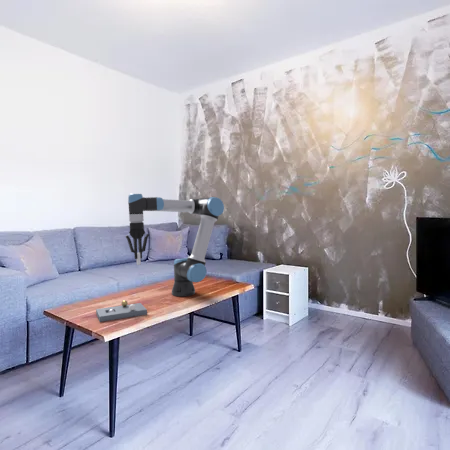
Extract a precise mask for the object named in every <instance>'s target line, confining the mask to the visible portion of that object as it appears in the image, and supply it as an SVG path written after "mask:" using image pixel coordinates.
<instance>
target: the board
mask: <svg viewBox="0 0 450 450" xmlns="http://www.w3.org/2000/svg"><path fill="white" fill-rule="evenodd" d="M131 304H132V303H131ZM131 304H127V306H122V305H118V306H117V305H116V306H109V307H102V308H95V313H96V314H95V315H96V317H97V319H98V321H99V322H100V323H101V322H108V321H115V320H120V319H125V318H133V317H138V316H144V315H148V309H147V308H146V307H145V306H144V305H143V304H142V303H141V302H139V303H138V302H137V303H133V304H134V305H135V307H136V308H135V310H133V311H131V310H130V309H129V306H130V305H131ZM111 309H113V310H114V311H115V312H109V310H111ZM108 312H109V313H108Z"/></svg>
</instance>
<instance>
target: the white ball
mask: <svg viewBox="0 0 450 450" xmlns="http://www.w3.org/2000/svg"><path fill="white" fill-rule="evenodd" d="M134 304H135V303H131V305H130V306H129V309H130V310H131V311H133V310H135V308H136V307H135V305H134Z"/></svg>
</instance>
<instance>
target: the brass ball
mask: <svg viewBox="0 0 450 450" xmlns="http://www.w3.org/2000/svg"><path fill="white" fill-rule="evenodd" d="M128 303H129V302H128V300H124V299H123V300H122V301H121V306H127V305H129V304H128Z"/></svg>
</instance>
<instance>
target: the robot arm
mask: <svg viewBox="0 0 450 450" xmlns="http://www.w3.org/2000/svg"><path fill="white" fill-rule="evenodd" d="M127 200H128V201H127V202H128V215H129V216H128V217H129V218H128V219H129V220H128V221H129V232H128V234H125V236H124V237H125V238H126V239H125V240H127V243H128V246H129V247H128V248H129V250H130V252H131V253H133V254H134V255H133V256H134V259H135V260H136V266H141V264H142V263H141V259H143V253H144V252H145V251H146V249H147V243H148V239H149V236H150V234H149V233H147V232H146V231H145V223H144V212H170V213H171V212H172V213H173V212H174V213H175V212H176V213H182V212H183V213H189V214H191V215H197V216H198V215H199V217H200V222H199V226H198V230H197V233H196V236H195V240H194V244H193V246H192V250H191V254H190V255H189V256H187V258H176V259H174V260H173V275H174V276H173V280H174V282H173V285H172V287H171V288H172V289H171V296H174V297H189V296H193V295H195V294H196V289H195V286H194V283H199V282H201V281H203V280H204V279H205V277H206V276H207V272H208V271H207V270H208V269H207V267H206V258H205V257H206V255H207V251H208V247H209V243H210V239H211V236H212V233H213V229H214V225H215V223H216V222H217V221H218V219H219V216H221V215H222V214H223V213H224V211H225V205H224V203H223V201H222V199H221V198H219V197H216V196H210V197H202V198H190V199H187V200H185V199H184V200H183V199H165V198H164V199H163V198H162V197H158V196H155V197H153V196H150V197H149V196H148V197H144V196H143V194H142V193H130V194H128V199H127ZM131 238H132V239H131ZM142 239H143V240H142ZM132 240H133V243H132ZM142 241H143V243H142Z"/></svg>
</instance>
